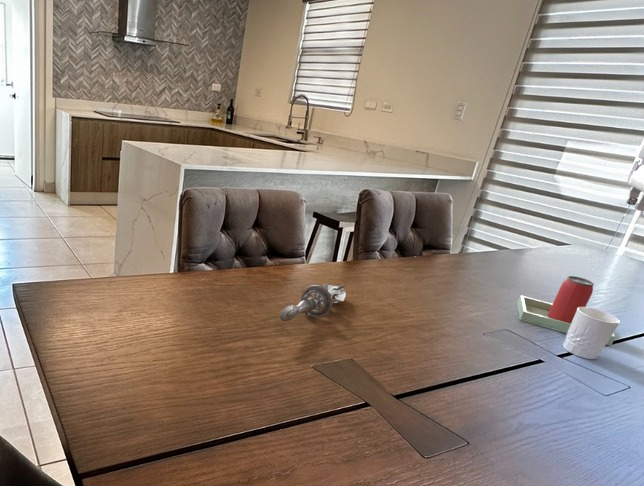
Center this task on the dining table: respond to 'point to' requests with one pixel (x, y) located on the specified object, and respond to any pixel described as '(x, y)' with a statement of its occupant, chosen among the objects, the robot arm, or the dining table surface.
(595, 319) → the white cup
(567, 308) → the beer can
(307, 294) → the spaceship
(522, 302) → the serving tray
